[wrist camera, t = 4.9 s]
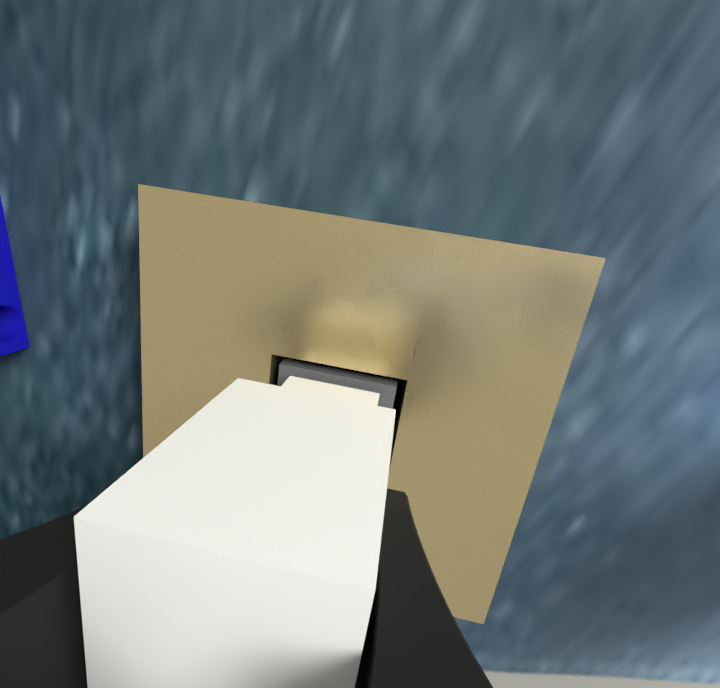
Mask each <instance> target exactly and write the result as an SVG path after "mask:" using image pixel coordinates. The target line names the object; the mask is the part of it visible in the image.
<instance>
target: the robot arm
mask: <svg viewBox="0 0 720 688" xmlns="http://www.w3.org/2000/svg"><path fill="white" fill-rule="evenodd" d="M86 506H87V505H86ZM86 506H84V507H82V508H80V509H78V510H76V511H73V512H71V513H69V514H66V515H64V516H61V517H59V518H57V519H54V520H52V521H49V522H47V523H44V524H42V525H39V526H36V527H34V528H31V529H29V530H26V531H23V532H21V533H18V534H15V535H13V536H10V537H7V538H4V539H2V540H0V688H88V686H87V674H86V662H85V650H84V638H83V625H82V613H81V601H80V589H79V577H78V564H77V552H76V540H75V528H74V516H75V515H76V514H78V513H79V512H80V511H81V510H82V509H83V508H85V507H86ZM355 688H493V687H492V685H491V683H490V682H489V680H488V678H487V677H486V675H485V673H484V672H483V670H482V668H481V666H480V665H479V663H478V661H477V660H476V658H475V656H474V654H473V653H472V651H471V649H470V647H469V645H468V644H467V642H466V640H465V638H464V636H463V634H462V633H461V631H460V629H459V627H458V625H457V623H456V621H455V619H454V617H453V615H452V613H451V611H450V609H449V607H448V605H447V603H446V601H445V598H444V596H443V594H442V592H441V590H440V588H439V585H438V583H437V581H436V579H435V576H434V574H433V572H432V569H431V567H430V564H429V562H428V559H427V557H426V554H425V551H424V549H423V546H422V544H421V541H420V538H419V535H418V532H417V529H416V526H415V523H414V520H413V516H412V513H411V509H410V505H409V500H408V496H407V495H406V493H405V492H402V491H397V490H393V489H388V488H387V493H386V502H385V510H384V519H383V528H382V537H381V546H380V554H379V563H378V572H377V581H376V590H375V594H374V599H373V604H372V608H371V613H370V618H369V622H368V627H367V632H366V636H365V641H364V646H363V650H362V655H361V660H360V664H359V669H358V674H357V678H356V683H355Z"/></svg>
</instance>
